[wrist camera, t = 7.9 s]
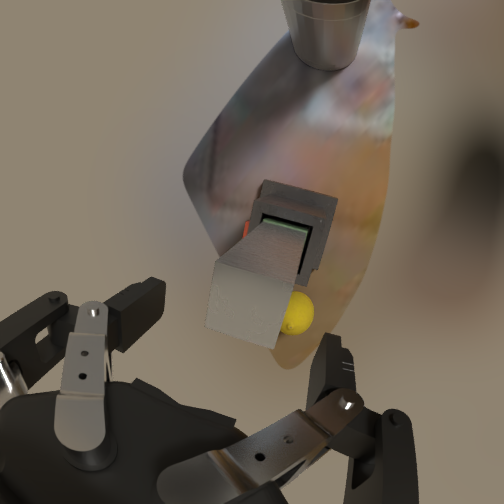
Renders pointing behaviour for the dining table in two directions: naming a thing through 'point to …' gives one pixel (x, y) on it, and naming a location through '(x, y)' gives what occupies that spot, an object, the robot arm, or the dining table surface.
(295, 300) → the lemon
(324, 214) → the stand base
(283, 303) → the column
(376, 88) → the dining table surface
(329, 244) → the dining table surface
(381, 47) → the dining table surface
